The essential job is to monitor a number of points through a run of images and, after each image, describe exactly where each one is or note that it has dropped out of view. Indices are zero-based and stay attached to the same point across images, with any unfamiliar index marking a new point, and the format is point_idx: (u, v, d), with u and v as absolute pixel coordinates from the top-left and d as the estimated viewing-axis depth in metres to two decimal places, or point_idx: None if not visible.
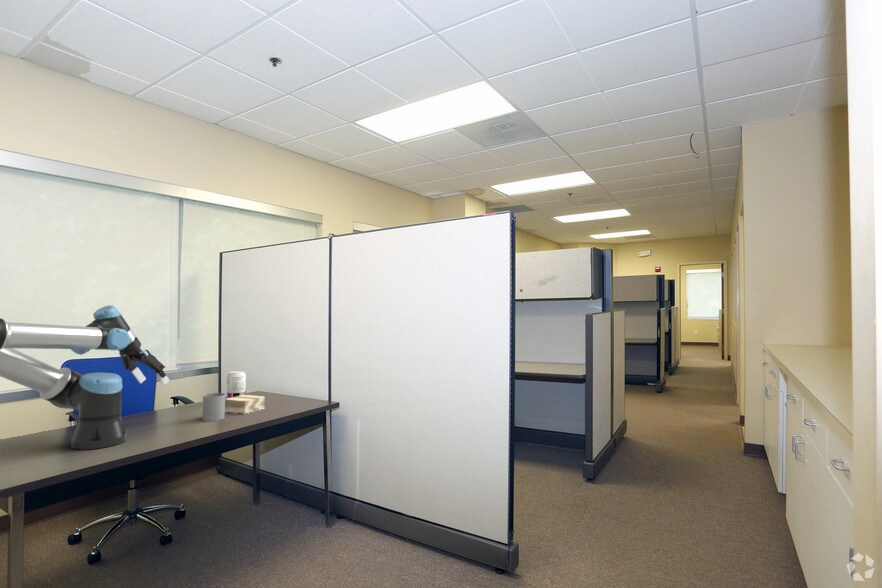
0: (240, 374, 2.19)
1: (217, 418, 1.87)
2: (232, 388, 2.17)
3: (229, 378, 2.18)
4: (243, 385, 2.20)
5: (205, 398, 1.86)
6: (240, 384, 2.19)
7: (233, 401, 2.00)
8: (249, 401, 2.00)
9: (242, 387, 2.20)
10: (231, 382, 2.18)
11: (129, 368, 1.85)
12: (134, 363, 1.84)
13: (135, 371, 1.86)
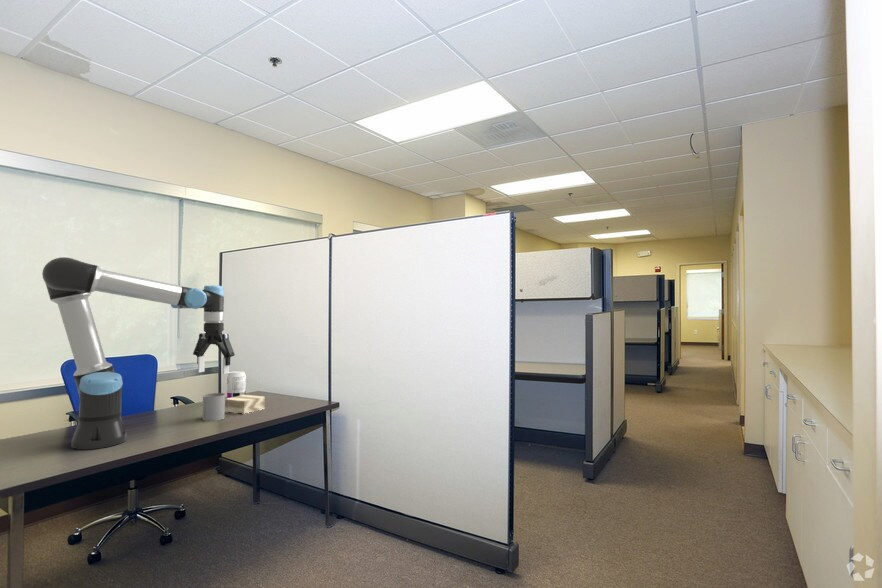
0: (240, 374, 2.19)
1: (217, 418, 1.87)
2: (232, 388, 2.17)
3: (229, 378, 2.18)
4: (243, 385, 2.20)
5: (205, 398, 1.86)
6: (240, 384, 2.19)
7: (233, 401, 2.00)
8: (249, 401, 2.00)
9: (242, 387, 2.20)
10: (231, 382, 2.18)
11: (198, 353, 1.92)
12: (205, 349, 1.92)
13: (201, 358, 1.92)
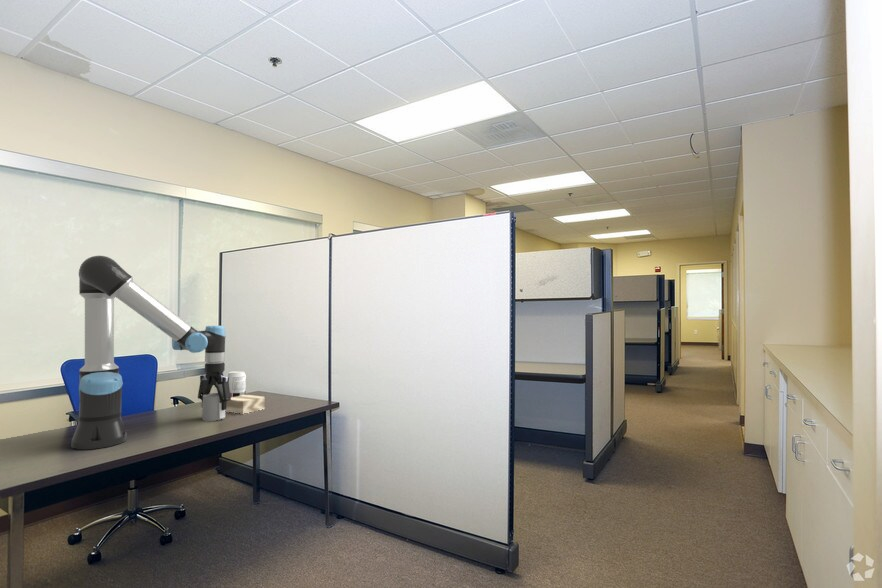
0: (240, 374, 2.19)
1: (217, 418, 1.87)
2: (232, 388, 2.17)
3: (229, 378, 2.18)
4: (243, 385, 2.20)
5: (205, 398, 1.86)
6: (240, 384, 2.19)
7: (232, 401, 2.00)
8: (248, 401, 2.00)
9: (242, 387, 2.20)
10: (231, 382, 2.18)
11: (202, 396, 1.90)
12: (208, 391, 1.91)
13: None
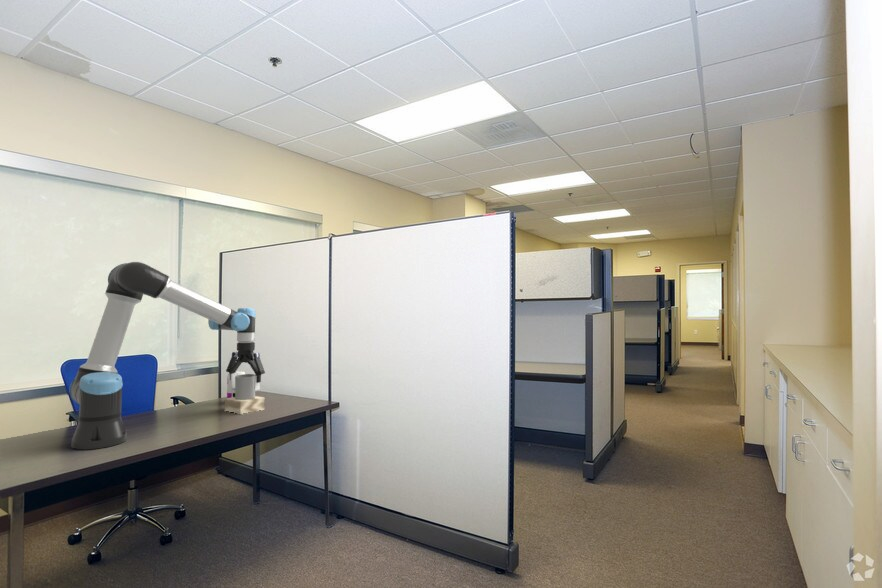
0: (240, 374, 2.19)
1: (249, 397, 2.02)
2: (232, 388, 2.17)
3: (229, 378, 2.18)
4: None
5: (237, 379, 2.02)
6: None
7: (231, 401, 2.01)
8: (246, 402, 1.99)
9: None
10: None
11: (231, 370, 2.07)
12: (237, 367, 2.08)
13: (233, 375, 2.08)
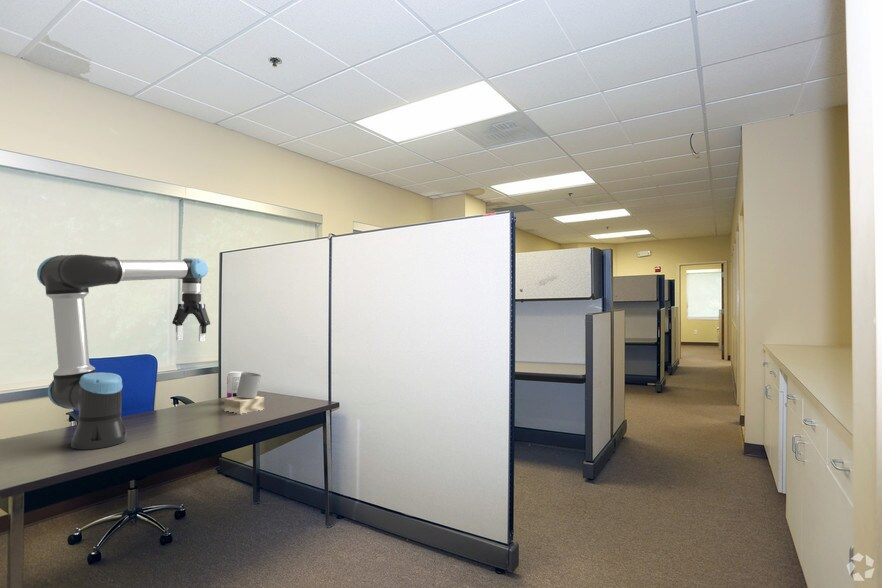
0: (240, 374, 2.19)
1: (242, 395, 2.02)
2: (232, 388, 2.17)
3: (229, 378, 2.18)
4: None
5: (241, 374, 2.05)
6: None
7: (231, 401, 2.01)
8: (245, 401, 1.99)
9: None
10: (231, 382, 2.18)
11: (177, 322, 2.04)
12: (183, 319, 2.05)
13: (179, 327, 2.04)
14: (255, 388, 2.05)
